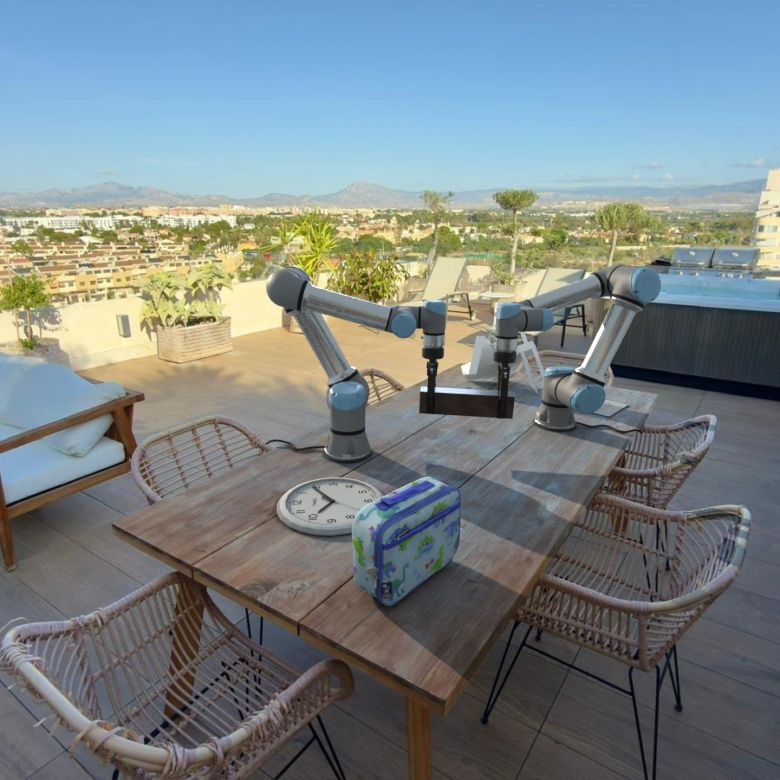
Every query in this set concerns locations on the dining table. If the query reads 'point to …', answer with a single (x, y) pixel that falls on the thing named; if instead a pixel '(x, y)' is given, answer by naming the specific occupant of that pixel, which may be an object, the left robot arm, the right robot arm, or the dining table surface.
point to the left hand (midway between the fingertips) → (430, 410)
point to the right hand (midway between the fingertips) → (500, 414)
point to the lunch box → (405, 538)
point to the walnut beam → (466, 402)
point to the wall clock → (325, 505)
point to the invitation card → (610, 408)
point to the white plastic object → (487, 367)
